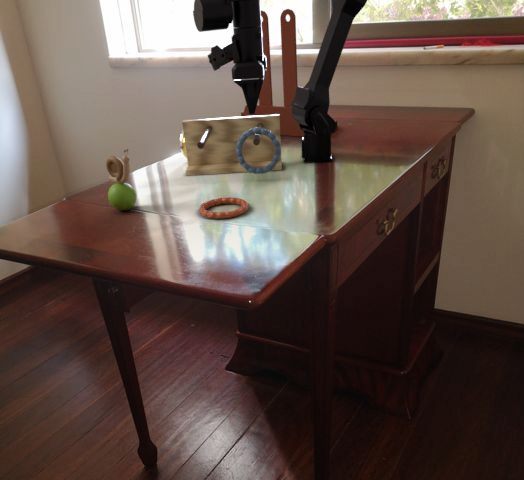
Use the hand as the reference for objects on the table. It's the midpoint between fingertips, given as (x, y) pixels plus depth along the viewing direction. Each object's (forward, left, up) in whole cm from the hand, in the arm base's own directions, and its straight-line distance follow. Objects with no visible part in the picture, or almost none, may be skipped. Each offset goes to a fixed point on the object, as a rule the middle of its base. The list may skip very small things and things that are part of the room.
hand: (253, 109), depth 120 cm
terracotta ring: (+5, +26, -12) cm, 30 cm away
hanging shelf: (-7, -40, -13) cm, 43 cm away
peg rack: (+5, +3, -13) cm, 15 cm away
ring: (+17, -13, -13) cm, 25 cm away
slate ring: (-1, +8, -7) cm, 11 cm away
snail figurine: (+25, +23, -13) cm, 36 cm away
